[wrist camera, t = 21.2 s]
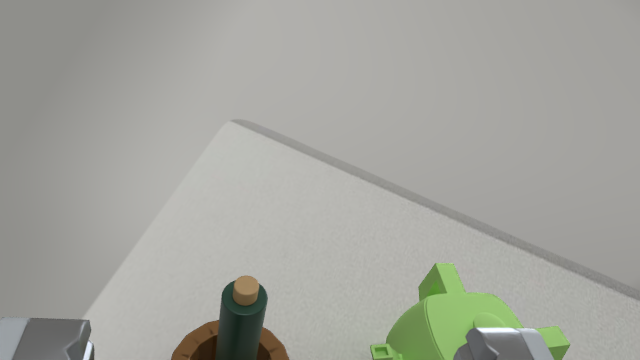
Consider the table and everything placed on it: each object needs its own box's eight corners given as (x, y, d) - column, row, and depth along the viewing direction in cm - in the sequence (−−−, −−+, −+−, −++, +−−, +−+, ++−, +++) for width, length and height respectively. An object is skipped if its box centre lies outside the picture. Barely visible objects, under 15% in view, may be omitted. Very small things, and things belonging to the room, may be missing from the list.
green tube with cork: (215, 419, 33) (229, 308, 26) (207, 384, 35) (218, 271, 28) (253, 408, 35) (276, 298, 27) (243, 375, 36) (262, 263, 29)
